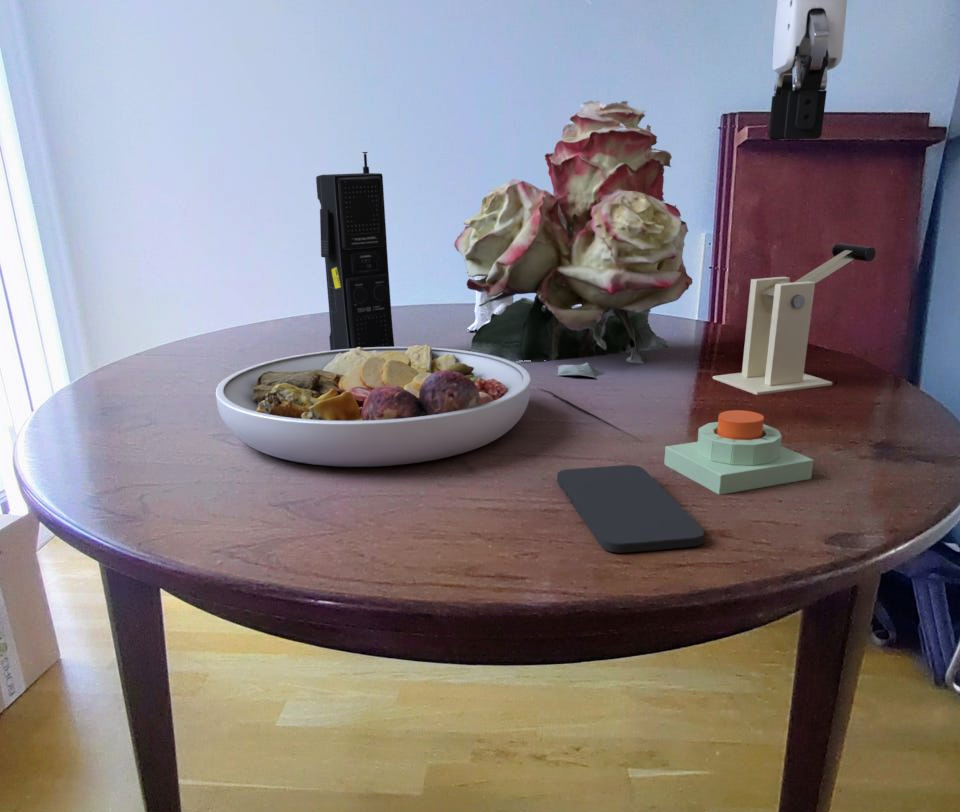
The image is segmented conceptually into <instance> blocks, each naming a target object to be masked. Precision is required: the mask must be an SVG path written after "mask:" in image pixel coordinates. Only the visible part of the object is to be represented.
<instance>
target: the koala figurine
mask: <svg viewBox="0 0 960 812" xmlns="http://www.w3.org/2000/svg"><path fill="white" fill-rule="evenodd" d="M459 254H460V255H461V253H460V252H459ZM485 277H486V276H475V277H471V278H472V280H481V279H483V278H485ZM487 293H488V292H486V291H483V292H478V291H477V290H475V305H474V311H473V312H474V315H475V320H474V322H473V323H472V324H471V325H470V326H468V327H467V329H469V330H476V329H479V328H480V327H481V326H482V325H484V324H486V323H489V322H490V320H491V315H492V314H493V313H494V314H496V315H500V314H501V313H502V312H503V311H504V310H505V309H506V306H508V305H511V304H512V303H514V296H511V297H509V298H506V299H503V300H499V301H497V300H495V301H492V302H488V303H486V304H484V305H483V306H479V305H480V304H483V303H485V302H486V301H488V300H490V299H493V298H495V297H497V296H499V295H501V294H502V293H500V294H499V295H497V296H492V297H490V296H487Z"/></svg>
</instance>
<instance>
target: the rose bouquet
mask: <svg viewBox="0 0 960 812" xmlns="http://www.w3.org/2000/svg"><path fill="white" fill-rule="evenodd" d="M628 103H629V101H627V100H625V101H624V100H623V101H620V102H612V103H611V102H610V104H608V103H603V102H602V101H601V100H596V101H593V100H588V101H585V102H583V103H580V104H579V106H580V107H579V110H578V111H576V113H575V114H573V115H571V116H570V118H569V121H568V122H567V123H566V124H565V125H564V127H563V129H562V130H561V131H562V132H561V133H562V134H561V137H562V138H561V139H559V140H558V141H557V142H556V143H555V146H554V151H553V152H552V153H545V154H544V160H545V162H546V165H547V167H548V170H547V174H548V176H549V177H550V182H551V186H552V191H553V193H551V192H549V191H548V190H546V189H540V188H538V187H536V185H533V184H532V183H530V182H528V181H525V180H522V179H517V178H512V179H511V180H509V181H507V182H506V183H503V184H502V185H500V186H497V187H493V188H492V189H489V190H488V191H487V195H486V196H485V197H484V198H482V200H481V203H480V206H479V210H478V212H477V213H476V214H474V215H473V216H472V217H469V218H467V219H466V220H464V221H463V222H462V224H463V225H466V226H465V227H464V229H463V231H462V232H460V233H459V235H458V236H457V237H456V239H455V240H454V248H455V250H456V251H457V252H459V254H460V253H461V254H460V255H461V257H462V259H463V261H464V263H465V268H466V274H467V277H470V278H468V279H467V281H466V288H467V289H469V290H472V291H476V290H477V291H478V292H483V291H486V292H488V293H487V296H490V297H492V296H497V295H499V294H500V293H502V294H501V295H499V296H497V297H495V298H493V299H490V300H488V301H486V302H485V303H483V304H480V305H479V306H483V305H484V304H486V303H488V302H492V301H495V300H497V301H499V300H503V299H506V298H509V297H511V296H513V297H514V296H516V295H527V294H536V295H535V296H534V298H533V299H534V300H533V299H530V298H527V297H520V299H518V300H515V301H513V303H512V304H511V305H508V306H506V309H505V310H504V311H503V312H502V313H501V314H500V315H496V314H494V313H493V314H492V315H491V320H490V322H489V323H486V324H484V325H482V326H481V327H480V328H479V329H478V330H477V331H475V334H474V335H473V336H472V339H471V343H470V344H471V345H470V349H469V351H471V352H478V353H483V354H488V355H492V356H496V357H500V358H503V359H506V360H509V361H512V362H513V361H514V362H516V361H519V360H523V361H524V360H531V362H521V363H518V365H526V364H535V363H543V362H545V363H546V362H554V361H562V360H572V359H581V358H590V357H601V356H611V355H618V354H628V353H631V355H630V356H628V357H627V358H626V362H628V363H632V364H633V363H635V364H646V363H647V362H648V358H646V357H645V356H643V354H642V353H640V352H645V351H646V352H647V351H655V350H656V351H657V350H664V349H665V350H666V349H668V348H670V347H669V345H668V343H667V342H668V341H667V340H666V339H664V338H663V337H660V336H658V335H657V334H656V332H654V331H653V330H652V328H651V326H650V323H649V314H650V313H651V309H653V308H656V307H659V306H663V305H666V304H670V303H673V302H676V301H678V300H679V299H681V297H682V296H683V294H684V293H686V291H687V290H689V288H690V286H691V285H692V284H693V278H692V277H691V276H690V275H689V274H687V268H686V266H685V264H684V263H685V262H684V258H683V254H684V247H685V238H686V235H687V234H688V232H689V229H688V225H687V222H685V221H683V220H682V218H681V217H682V215H681V212H680V210H679V209H678V207H677V204H675V205H673V204H670V203H667V202H665V199H664V194H665V193H664V181H665V176H664V173H665V167H669V168H672V166H671V160H672V158H673V156H672V154H671V153H670V152H669V151H668V150H664V149H658V148H653V146H655V145H657V143H658V141H657V138H658V136H657V135H656V134H654V133H653V132H652V131H651V130H652V129H651V128H652V126H651V125H649V124H647V125H646V128H642V127H640V126H639V124H640V123H641V121H642V120H643V119H644V118H645V116H646V114H645V112H646V110H645V109H643V108H642V109H639V108H638V107H632V106H629V105H628ZM621 124H622V125H621ZM475 276H486V277H485V278H483V279H481V280H474V279H473V278H472V277H475ZM471 278H472V279H471ZM577 305H578V306H577ZM579 305H581V306H579ZM574 306H577V307H574ZM544 360H546V361H544ZM516 364H517V363H516ZM556 367H557V368H558V369H557V373H556V374H555V377H559V376H584V377H590V378H593V379H595V380H597V381H598V377H599V376H603V375H605V374H606V373H605V372H603V371H601V370H598V369H596V368H595V367H594V366H592V365H591V363H589V362H585V363H583V364H561V365H556Z"/></svg>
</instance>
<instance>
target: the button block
mask: <svg viewBox="0 0 960 812" xmlns="http://www.w3.org/2000/svg"><path fill="white" fill-rule="evenodd" d="M717 429H718V421H714V422H708V423H706V424H704V425H702V426H701V427H699V428H698V431H697V432H698V434H697V441H693V442H687V443H680V444H673V445H666V446H665V448H664V462H663V463H664V466H666V467H668V468H670V469H671V470H674V471H675V472H677V473H679V474H680V475H682V476H684V477H686V478H687V479H690V480H691V481H693V482H696V483H697V484H699V485H701V486H703V488H706V489H708V490H710V491H711V492H713V493H716V495H725V494H726V495H727V494H732V493H737V492H742V491H749V490H755V489H759V488H766V487H772V486H778V485H784V484H789V483H795V482H800V481H806V480H811V479H812V474H813V468H814V459H812V458H810V457H808V456H806V455H803V454H800V453H799V452H797V451H793V450H792V449H789V448H787V447H784V446H782V440H783V436H782V434H781V432H780V431H779V429H777V428H775V427H772V426H769V425H767V424H765V423H764V424H763V433H762V438H760V439H753V440H735V439H729V438H724V437H721V436H719V435H717Z"/></svg>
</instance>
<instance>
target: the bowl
mask: <svg viewBox="0 0 960 812" xmlns="http://www.w3.org/2000/svg"><path fill="white" fill-rule="evenodd" d="M531 390H532V377H531V374H530V373H529V371H528V370H527V369H525V368H524V367H523V366H522V365H521V364H516V363H514V362H512V361H509V360H506V359H503V358H500V357H496V356H492V355H488V354H483V353H478V352H471V351H470V350H465V349H464V350H462V349H457V348H456V349H455V348H443V347H431V346H430V345H429V344H424V345H419V344H414V345H411V346H394V347H369V348H361V347H358V348H352V349H340V350H330V349H329V350H324V351H315V352H307V353H302V354H296V355H291V356H285V357H281V358H276V359H272V360H268V361H264V362H261V363H256V364H254V365H251V366H248V367H246V368H243V369H241V370H238V371H236V372H234V373H232V374H230V375H228V376H227V377H226V378H224V379H222V380H221V382H219V383H218V385H217V387H216V389H215V399H216V405H217V409H218V412H219V415H220V418H221V419H222V422H223V423H224V425H225V426H226V427H227V429H228V430H229V431H230V432H231V433H232V435H234V436H235V437H236V438H237V439H239V441H241V442H243V444H245V445H247V446H249V447H250V448H252V449H254V450H256V451H258V452H261V453H263V454H266V455H268V456H271V457H274V458H277V459H282V460H286V461H291V462H296V463H301V464H309V465H315V466H328V467H341V468H342V467H343V468H344V467H347V468H369V467H370V468H371V467H389V466H398V465H399V466H400V465H410V464H417V463H424V462H430V461H436V460H440V459H445V458H449V457H453V456H458V455H461V454H464V453H467V452H470V451H473V450H476V449H479V448H481V447H484V446H486V445H488V444H490V443H491V442H494V441H496V440H497V439H499V438H501V437H502V436H503V435H505V434H507V433H508V432H509V431H510V430H511V429H512V428H513V427H514V426H515V425H517V423H518V422H519V421H520V420H521V418H522V417H523V415H524V414H525V412H526V410H527V408H528V405H529V401H530V399H531Z"/></svg>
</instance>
